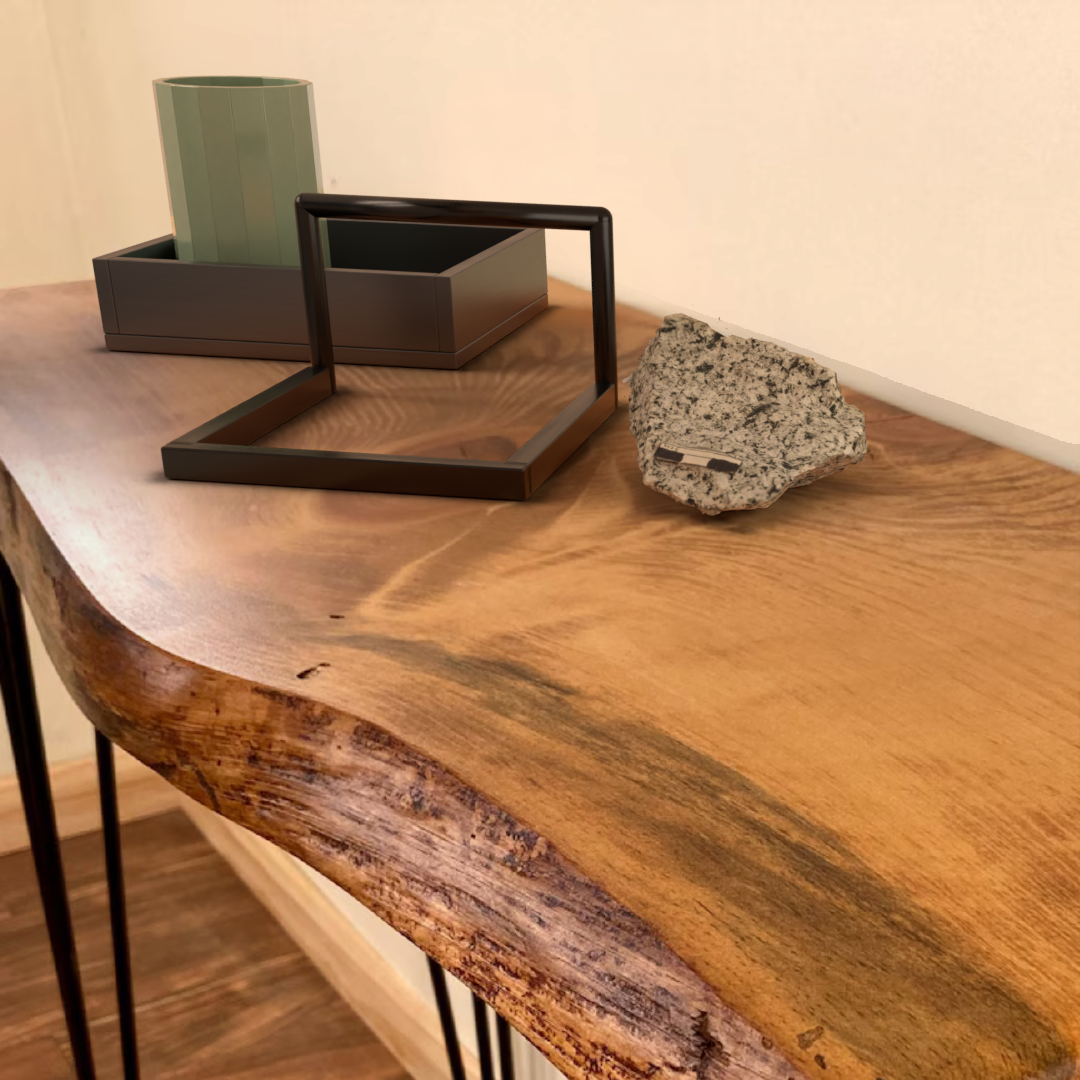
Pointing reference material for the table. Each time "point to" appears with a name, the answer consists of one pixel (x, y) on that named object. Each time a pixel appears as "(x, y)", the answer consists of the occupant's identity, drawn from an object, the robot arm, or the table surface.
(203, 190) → the cup
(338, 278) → the black shallow open box
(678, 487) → the rock sample
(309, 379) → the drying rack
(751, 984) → the table surface
